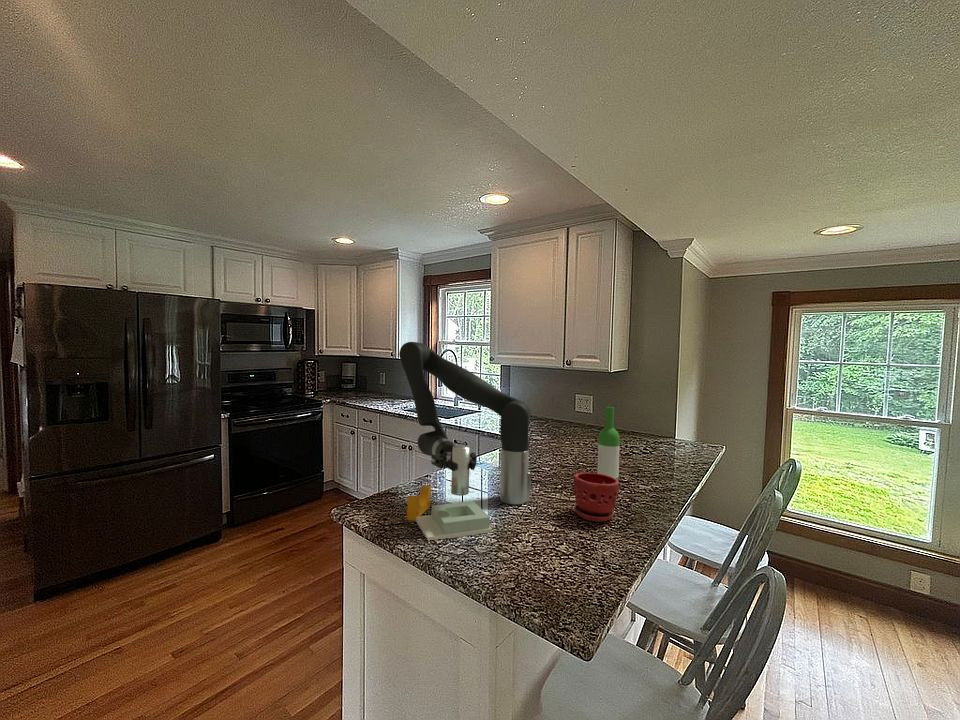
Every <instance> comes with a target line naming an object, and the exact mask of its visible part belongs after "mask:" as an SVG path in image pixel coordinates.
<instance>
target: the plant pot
mask: <svg viewBox="0 0 960 720" xmlns="http://www.w3.org/2000/svg"><path fill="white" fill-rule="evenodd" d="M573 479H574V480H573V493H574V498H575V503H576V505H575V506H574V511H575V513H576V514H577V515H578V516H579V517H581V518H582V519H583V520H587V521H592V522H608V521H610V520H612V519H613V517H614V515H615V513H614V511H613V510H614V508H615V506H616V502H617V499H618V493H619V485H620V483H619V479H618V480H617V479H615V478H613V477H610V476H607V475H603V474H598V473H597V472H578V473H576V474H575V475H574V478H573ZM603 482H605V484H603Z"/></svg>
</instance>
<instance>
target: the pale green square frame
mask: <svg viewBox="0 0 960 720" xmlns="http://www.w3.org/2000/svg"><path fill="white" fill-rule="evenodd" d="M490 521H491V517H490V516H489V515H488V514H487V512H485V511H484V510H483V509H482V508H481V507H480V506H479V505H478V504H477V503H476V502H475V501H474V500H470V501H462V502H454V503H444V504H435V505H431V513H430V515H421V516H420V517H416V521H415V522H416V523H417V525H418V527H419V529H420V530H422V531H421V533H422V534H423V536H424V535H425V536H424V537H426V538H427V539H426V538H425V539H426V541H427V540H428V541H427V542H431V541H430V540H434V541H439V540H438V539H441V540H447V539H446V538H448V539H454V538H460V537H468V536H474V535H475V536H476V535H482V534H488V533H492V532H493V529H492V527H491V524H490V523H491V522H490Z"/></svg>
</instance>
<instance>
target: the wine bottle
mask: <svg viewBox="0 0 960 720" xmlns="http://www.w3.org/2000/svg"><path fill="white" fill-rule="evenodd" d="M614 418H615V407H614V406H606V407H605V426H604V428H603V429H601V431H600V432H599V434H598V446H597V447H598V449H597V472H596V473H598V474H603V475H607V476H610V477H613V478H615V479H617V480H618V481H619V471H620V470H619V469H620V467H619V466H620V434H619V432H618V430H616V428H614V425H615V424H614V422H615V421H614ZM603 484H605V482H603Z"/></svg>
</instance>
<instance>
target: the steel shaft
mask: <svg viewBox="0 0 960 720" xmlns="http://www.w3.org/2000/svg"><path fill="white" fill-rule="evenodd" d="M470 454H471V446H470V445H466V444H456V445H455V446H453V452H452V461H453V462H454V463H455V464H456V469H455V471H452V470H451V484H450V486H451V487H450V494H452V495H454V496H460V497H461V496H467V495H469V493H470V491H469V490H470V471H471V469H470Z"/></svg>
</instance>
